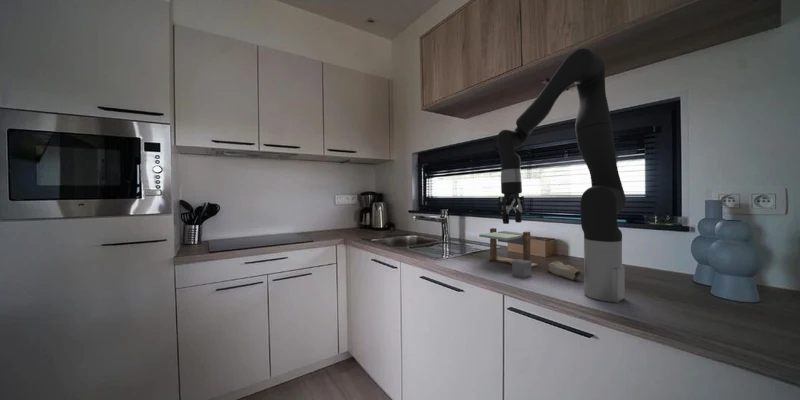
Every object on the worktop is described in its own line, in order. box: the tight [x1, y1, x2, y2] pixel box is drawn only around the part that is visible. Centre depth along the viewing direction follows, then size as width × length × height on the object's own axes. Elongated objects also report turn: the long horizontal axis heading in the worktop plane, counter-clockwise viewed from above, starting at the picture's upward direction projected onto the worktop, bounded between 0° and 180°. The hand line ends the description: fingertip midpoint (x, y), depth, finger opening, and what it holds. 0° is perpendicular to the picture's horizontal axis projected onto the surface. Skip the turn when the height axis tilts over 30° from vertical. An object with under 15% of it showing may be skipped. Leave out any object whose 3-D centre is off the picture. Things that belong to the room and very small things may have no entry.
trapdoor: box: [478, 230, 523, 246], centre depth 123 cm, size 14×18×4 cm
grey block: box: [511, 258, 533, 279], centre depth 107 cm, size 5×5×6 cm
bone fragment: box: [547, 260, 582, 281], centre depth 106 cm, size 14×6×5 cm, turn 2°
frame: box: [489, 227, 538, 268], centre depth 126 cm, size 19×7×15 cm, turn 36°
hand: (512, 223), depth 109 cm, fingers open, 8 cm apart
